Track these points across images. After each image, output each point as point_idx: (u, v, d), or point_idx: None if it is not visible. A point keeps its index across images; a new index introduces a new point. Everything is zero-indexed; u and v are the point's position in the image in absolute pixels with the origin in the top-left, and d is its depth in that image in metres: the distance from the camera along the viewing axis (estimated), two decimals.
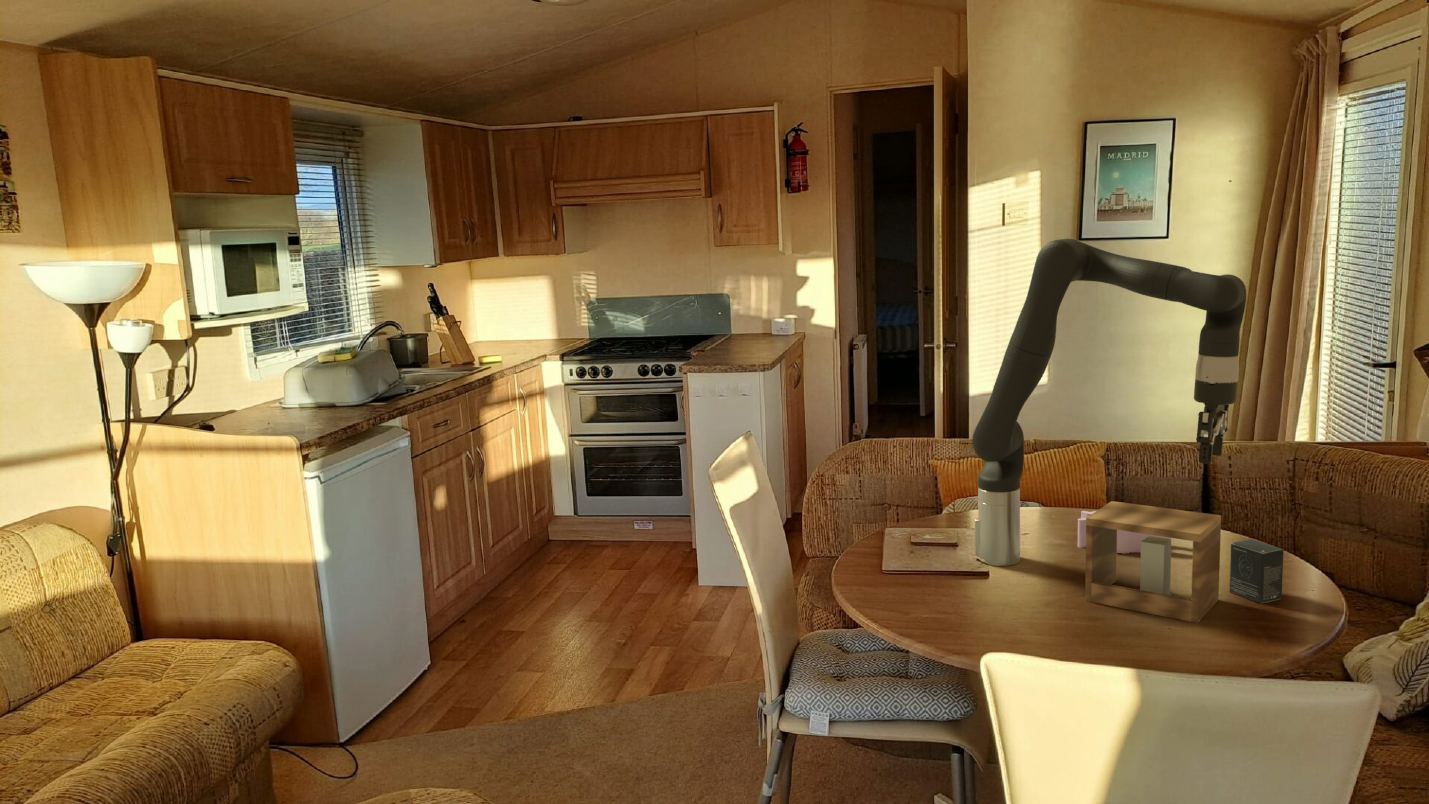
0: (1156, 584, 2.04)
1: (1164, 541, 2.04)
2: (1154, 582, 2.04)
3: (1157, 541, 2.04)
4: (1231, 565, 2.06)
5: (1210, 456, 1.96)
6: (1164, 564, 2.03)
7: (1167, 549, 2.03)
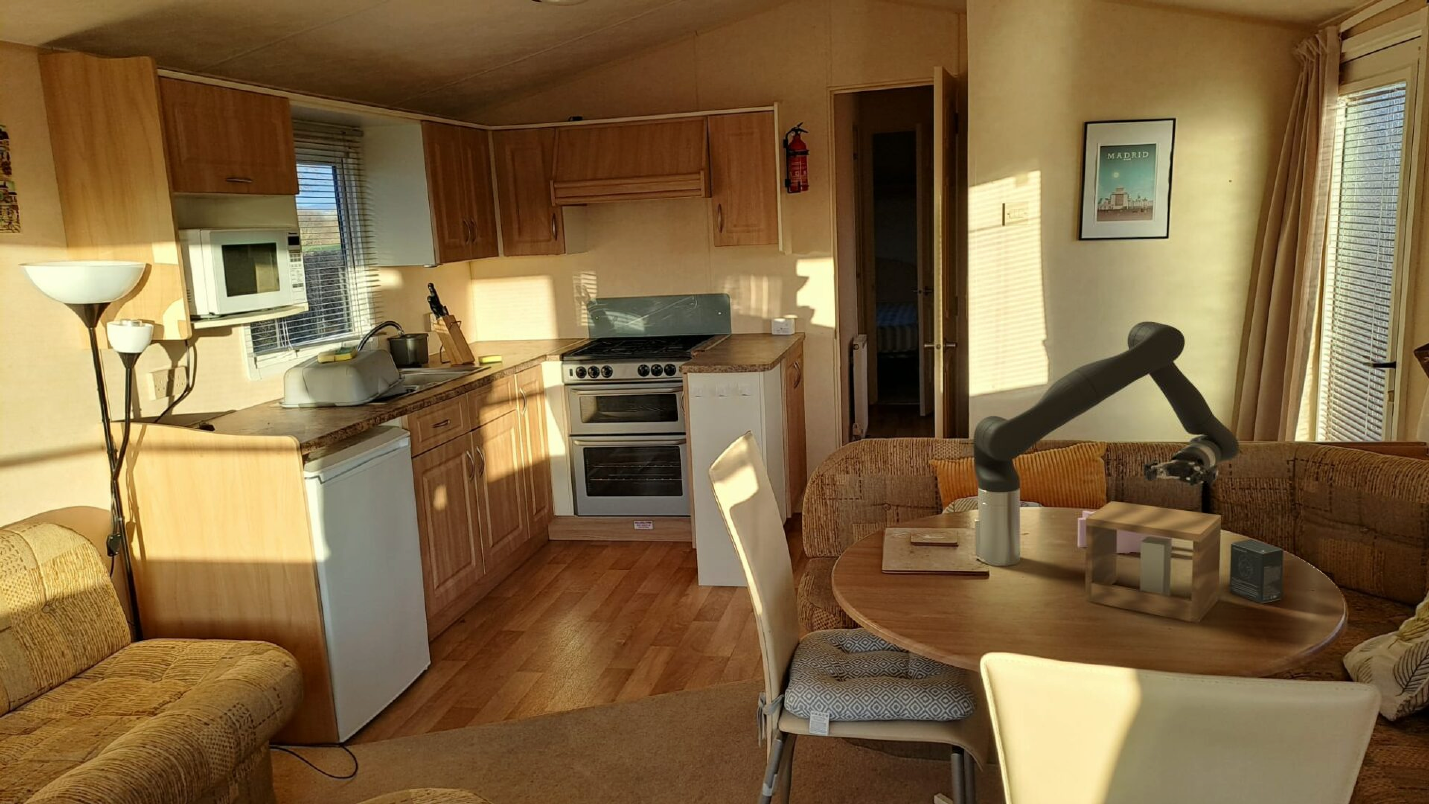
0: (1156, 584, 2.04)
1: (1164, 541, 2.04)
2: (1154, 582, 2.04)
3: (1157, 541, 2.04)
4: (1231, 565, 2.06)
5: (1195, 484, 2.14)
6: (1164, 564, 2.03)
7: (1167, 549, 2.03)
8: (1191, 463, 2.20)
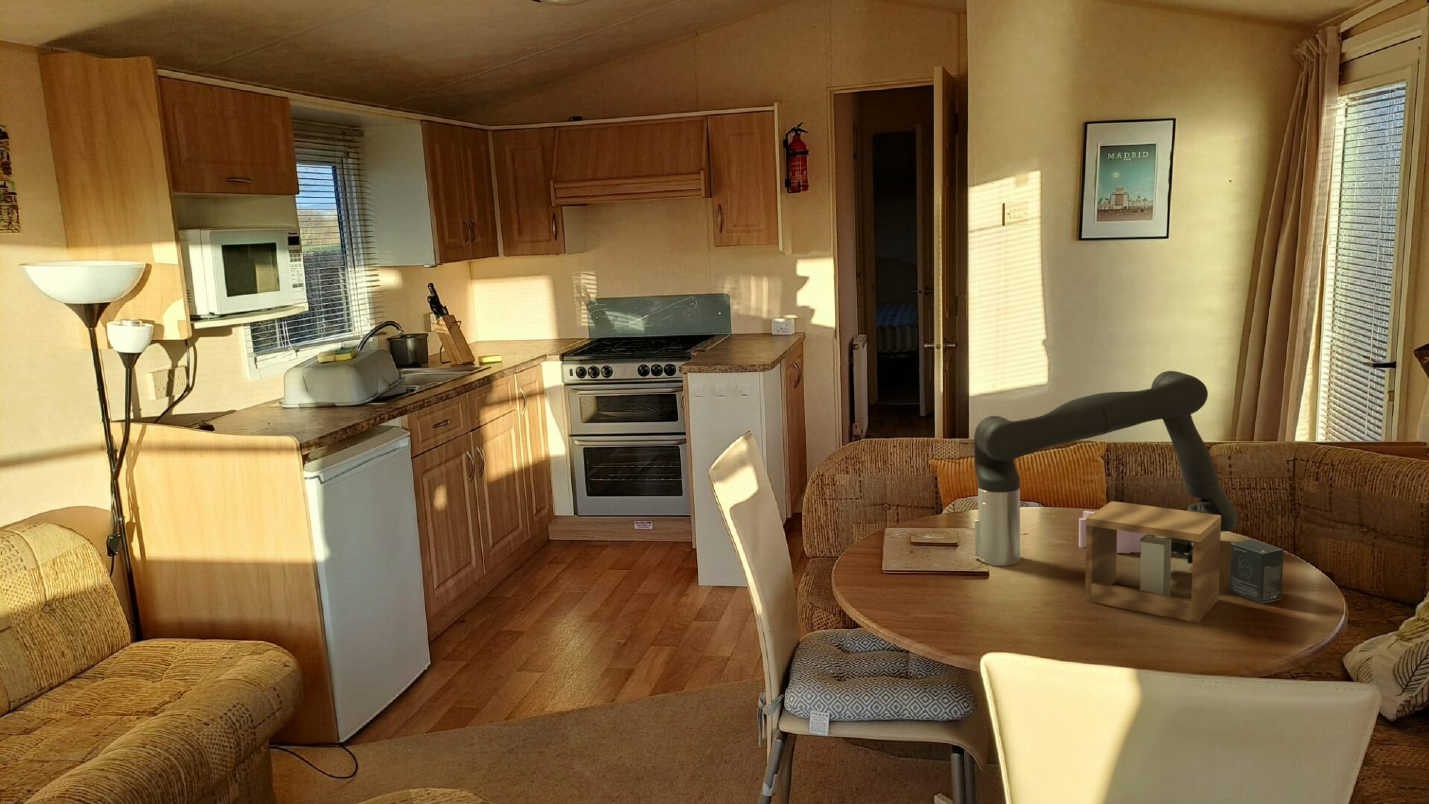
0: (1156, 584, 2.04)
1: (1164, 541, 2.04)
2: (1154, 582, 2.04)
3: (1157, 541, 2.04)
4: (1231, 565, 2.06)
5: (1192, 561, 2.10)
6: (1164, 564, 2.03)
7: (1167, 549, 2.03)
8: None
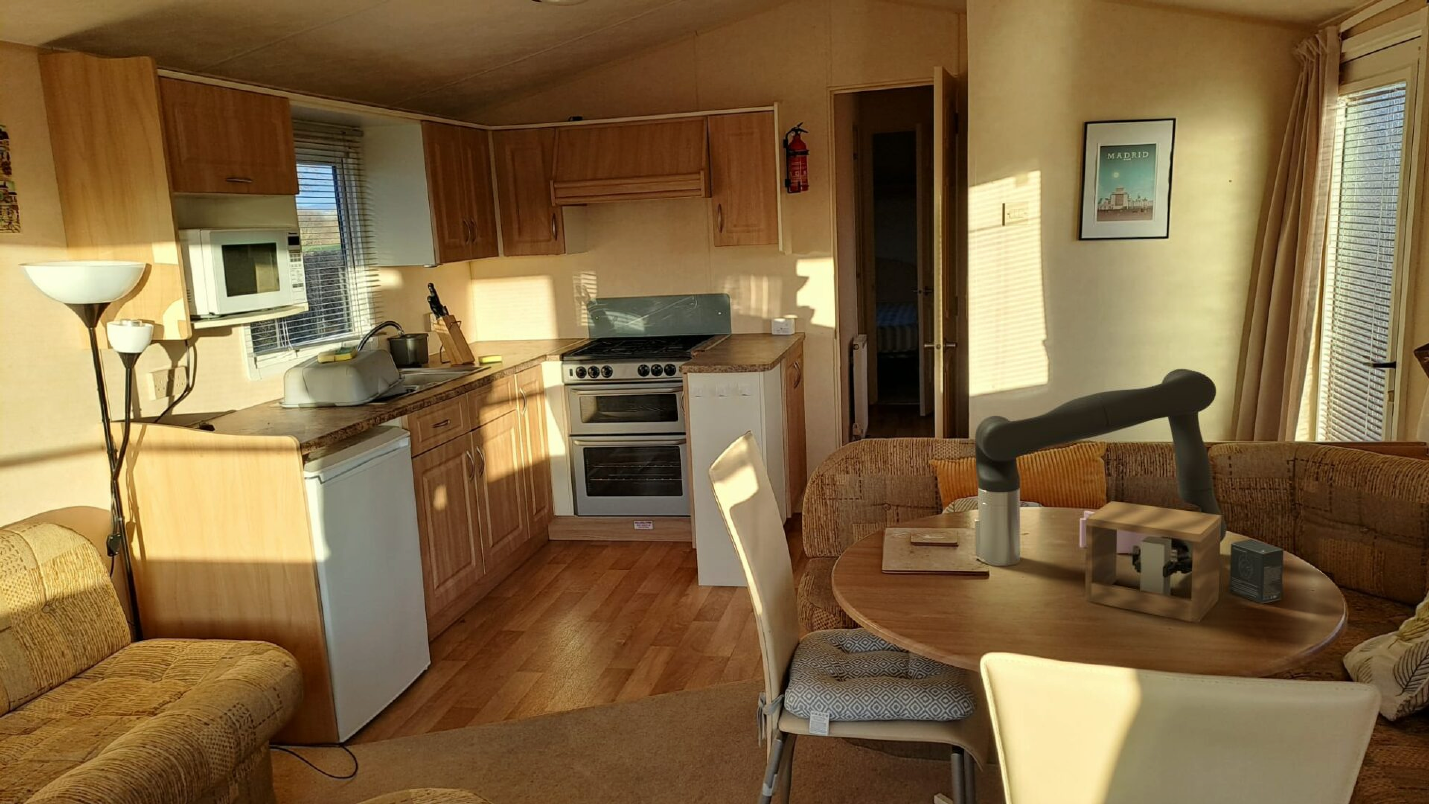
0: (1156, 584, 2.04)
1: (1164, 541, 2.04)
2: (1154, 582, 2.04)
3: (1157, 541, 2.04)
4: (1231, 565, 2.06)
5: (1168, 575, 2.03)
6: (1164, 564, 2.03)
7: (1167, 549, 2.03)
8: (1173, 550, 2.09)
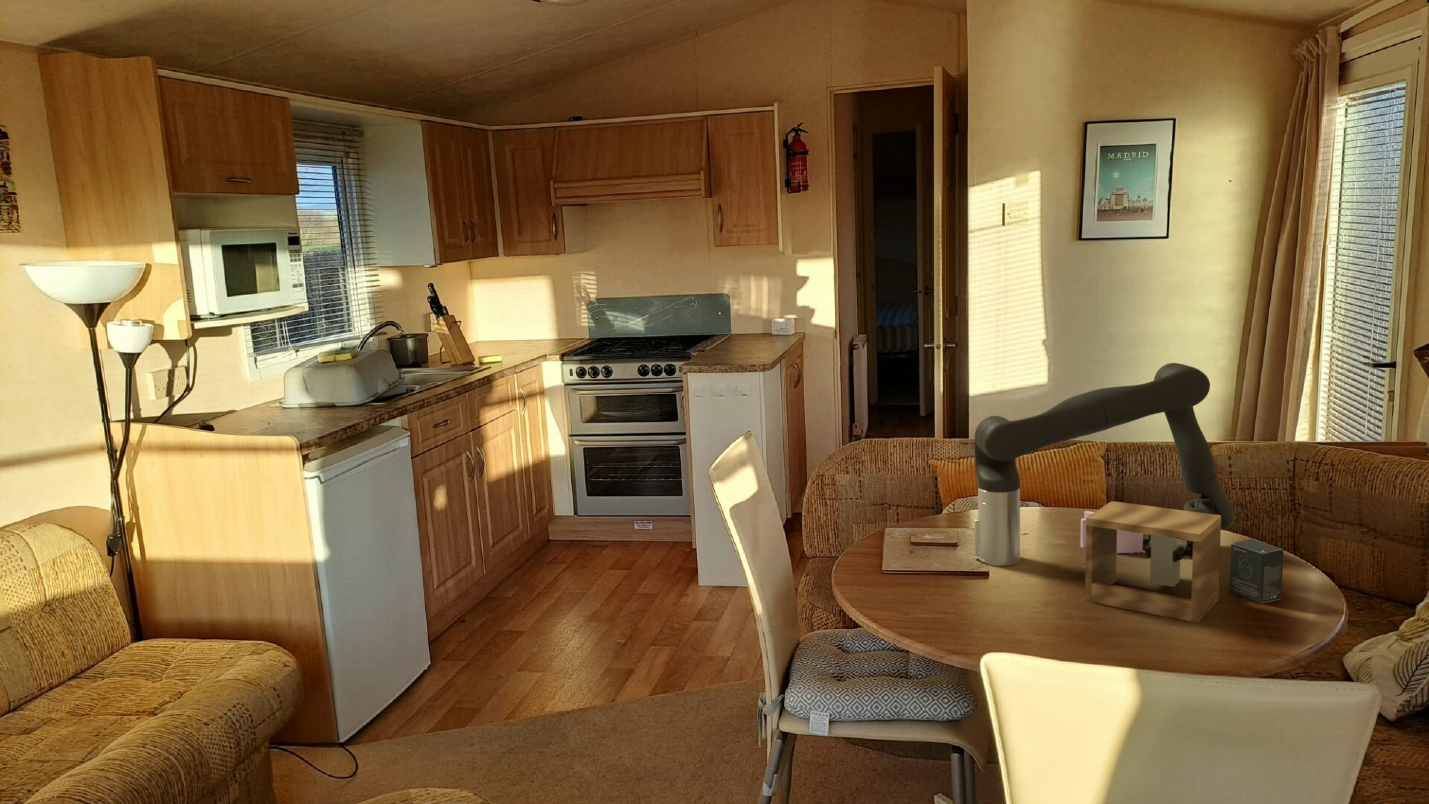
0: (1166, 568, 2.08)
1: None
2: (1164, 567, 2.08)
3: None
4: (1231, 565, 2.06)
5: (1178, 559, 2.08)
6: (1174, 549, 2.07)
7: None
8: None
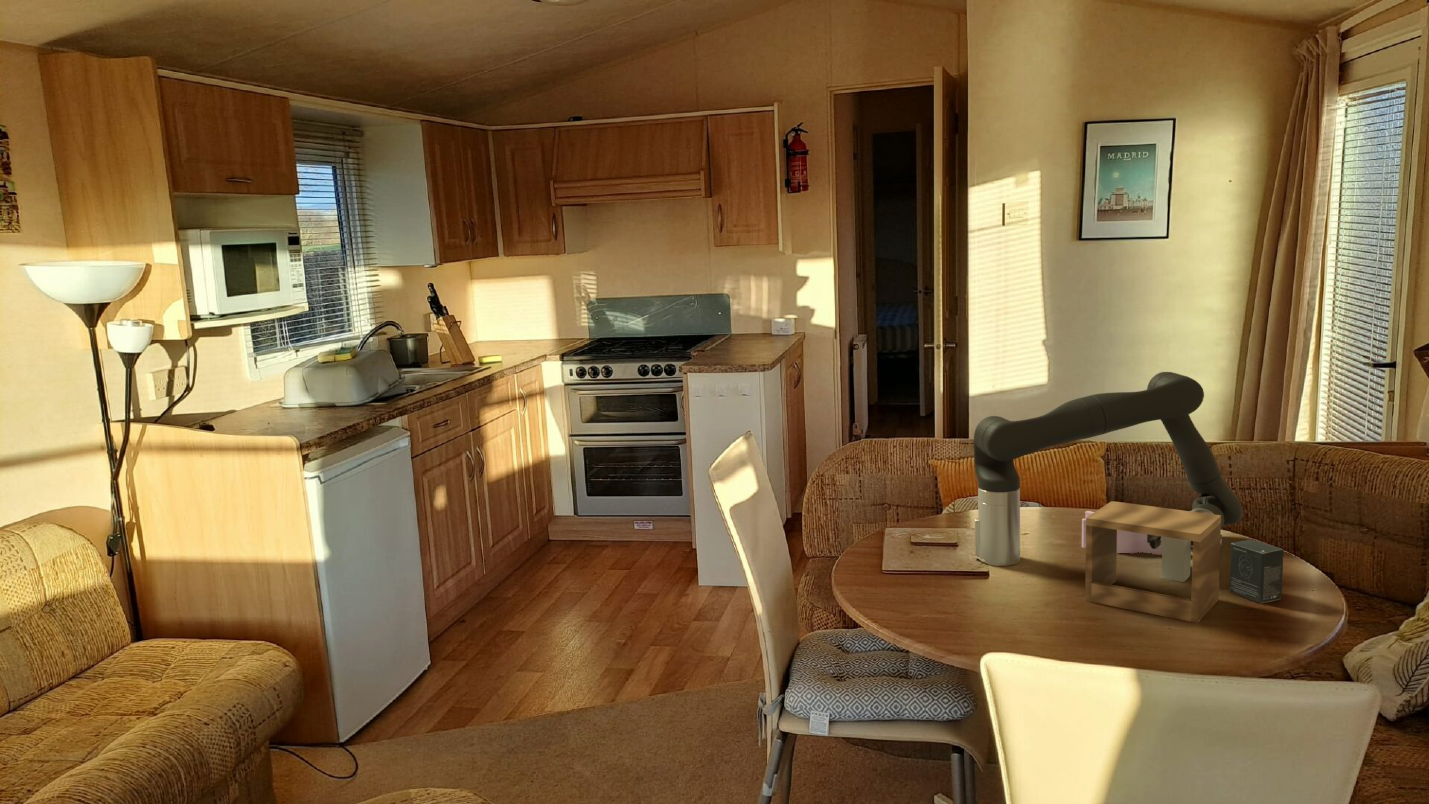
0: (1177, 564, 2.14)
1: None
2: (1175, 562, 2.14)
3: None
4: (1231, 565, 2.06)
5: None
6: (1185, 545, 2.13)
7: None
8: None
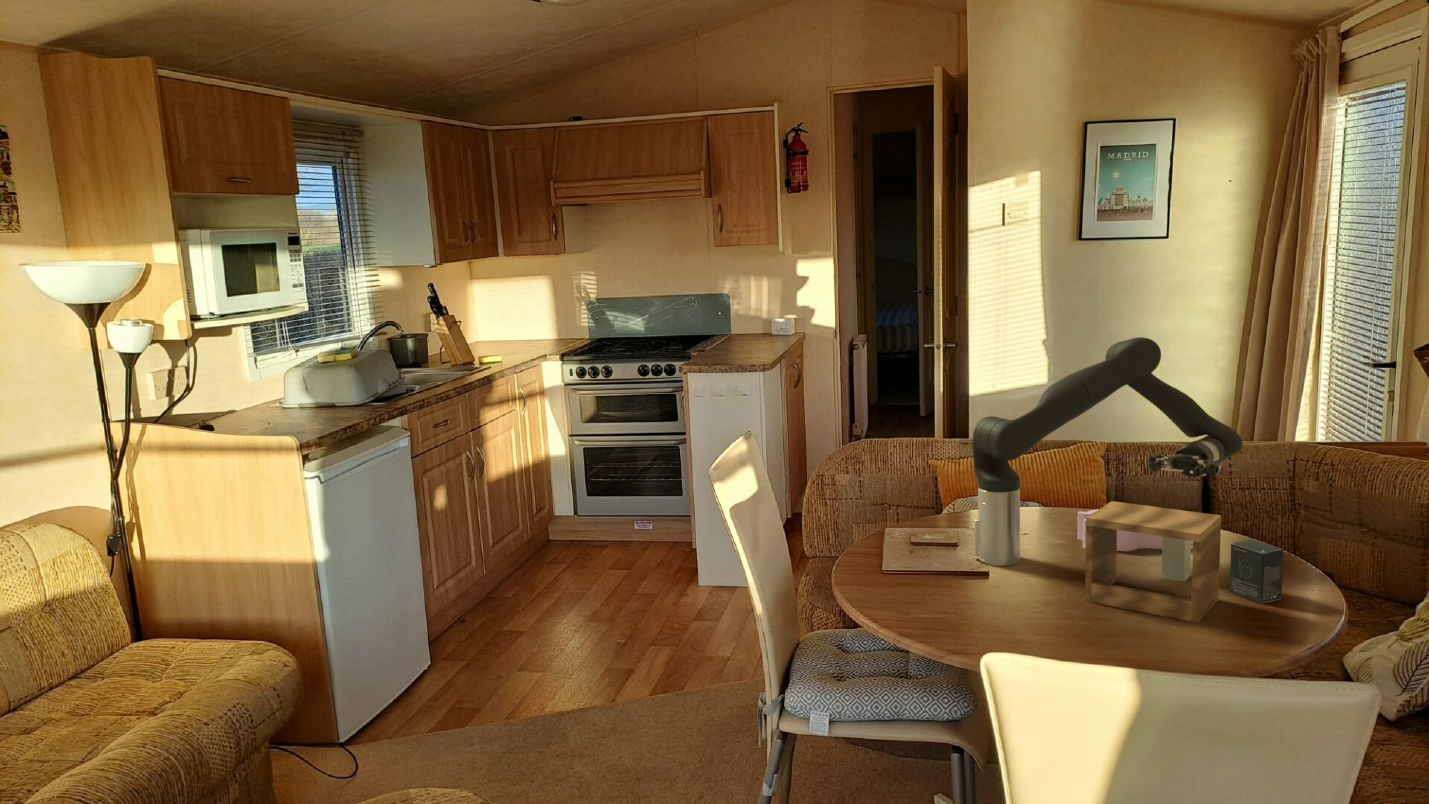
0: (1177, 564, 2.14)
1: None
2: (1175, 562, 2.14)
3: None
4: (1231, 565, 2.06)
5: (1198, 476, 2.21)
6: (1185, 545, 2.13)
7: None
8: (1195, 457, 2.27)
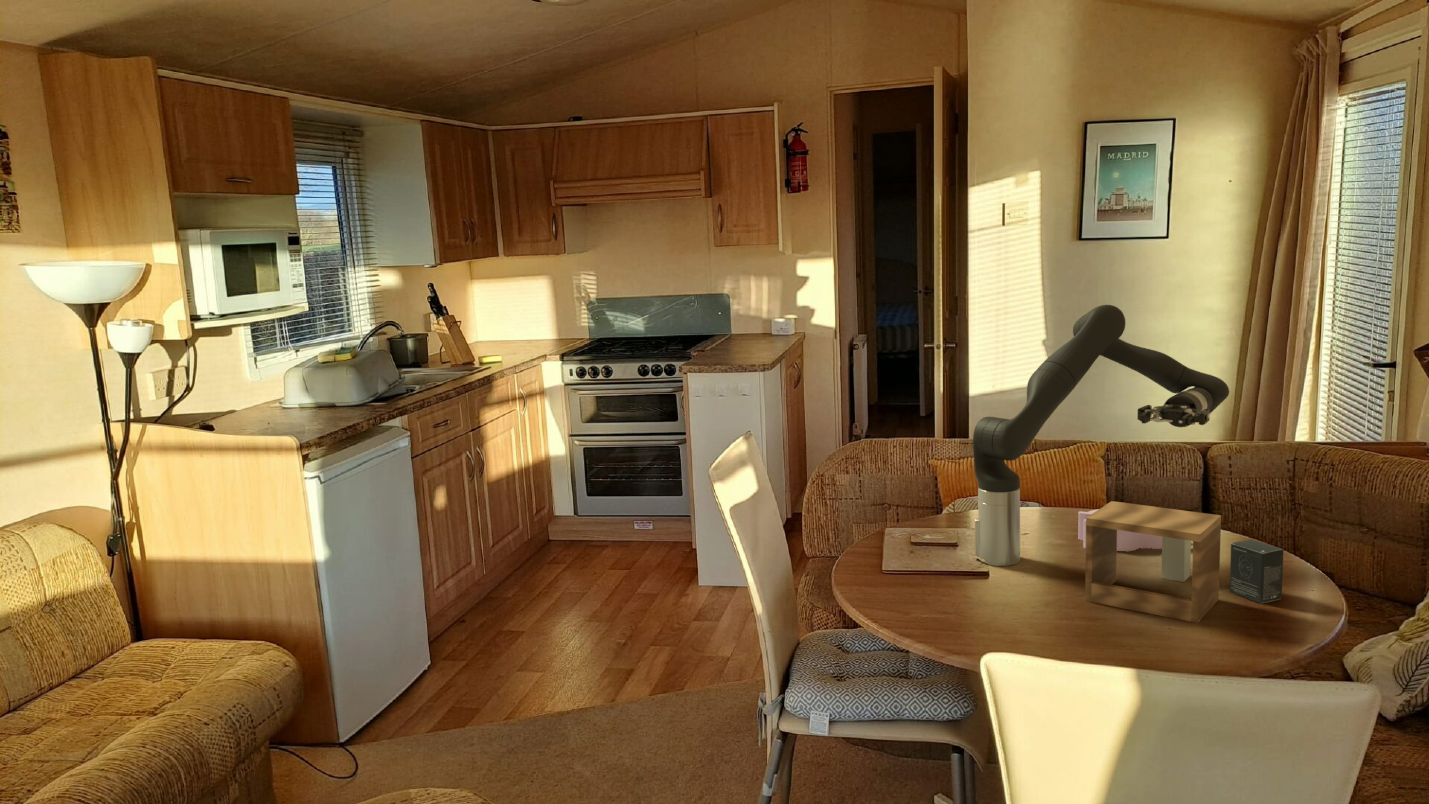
0: (1177, 564, 2.14)
1: None
2: (1175, 562, 2.14)
3: None
4: (1231, 565, 2.06)
5: (1187, 425, 2.21)
6: (1185, 545, 2.13)
7: None
8: (1183, 406, 2.27)
